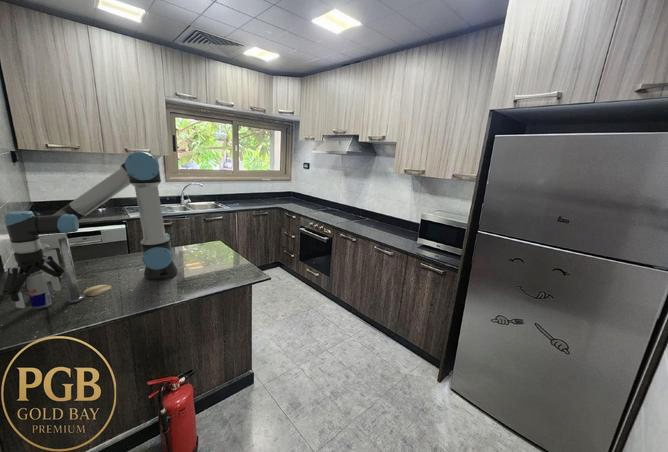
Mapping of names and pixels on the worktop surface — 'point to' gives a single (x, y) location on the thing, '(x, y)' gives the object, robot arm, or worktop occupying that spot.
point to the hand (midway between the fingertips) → (40, 298)
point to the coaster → (97, 290)
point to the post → (69, 271)
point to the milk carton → (53, 253)
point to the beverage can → (38, 290)
